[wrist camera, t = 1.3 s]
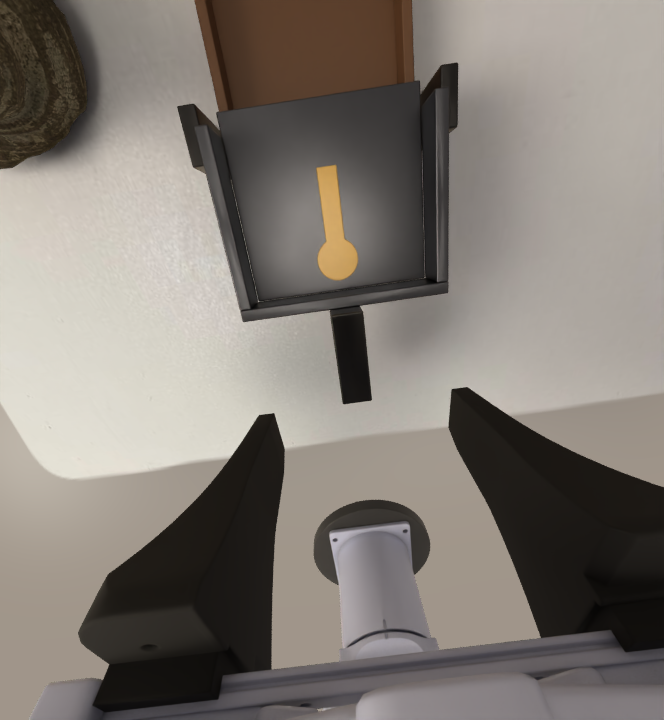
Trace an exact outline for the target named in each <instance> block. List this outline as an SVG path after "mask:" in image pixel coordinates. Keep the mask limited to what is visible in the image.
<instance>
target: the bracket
mask: <svg viewBox="0 0 664 720" xmlns="http://www.w3.org/2000/svg"><path fill="white" fill-rule="evenodd" d="M442 87H449V133H450V132H451V131H452V130H454V129H455V128H456V127H457V124H458V63H451V64H444V65H441V66H440V68H439V69H438V70H437V72H436V73H435V75H434V76H433V78H432V79H431V80H430V82H429V83H428V85H427V86H426V87H425V89H424V90H423V92H422V93H421V95H420V104H421V107H422V105H423V104H424V103H425V101H426V100H427V99H428V98H429V96H430V95H431V94H432V93H433V91H434V90H435V89H436V88H442ZM177 108H178V112H179V116H180V119H181V123H182V127H183V131H184V135H185V139H186V142H187V146H188V150H189V154H190V158H191V161H192V165H193V167H194V168H196V169H197V170H199V171H201V172H203V173H205V174H206V172H205V168H204V164H203V160H202V156H201V152H200V148H199V144H198V140H197V136H196V132H195V128H194V127H195V126H198V125H205V124H207V125H208V126H209V127H210V128H211V129H213V130H214V131H215V132H216V133H217V134H218V135H219V136H220V137H221V139H222V136H221V132H220V130H219V129H218V128H217V127H216V126H215V125H214V124H213V123H212V122H211V121H210V120H209V119H208V118H207V117H206V116H205V115H204V114H203V113H202V112H201V111H200V109H199V108H198V107H197V106H196V105H195V104H189V105H183V106H178V107H177ZM222 144H223V141H222ZM421 146H422V109H421ZM223 148H224V145H223ZM224 152H225V150H224ZM225 157H226V154H225ZM226 161H227V158H226ZM227 166H228V163H227ZM228 170H229V167H228ZM229 175H230V172H229ZM230 179H231V176H230Z"/></svg>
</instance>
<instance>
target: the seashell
mask: <svg viewBox="0 0 664 720" xmlns="http://www.w3.org/2000/svg"><path fill="white" fill-rule="evenodd" d="M86 105H87V88H86V80H85V76H84V69H83V65H82V62H81V59H80V55H79V53H78V50H77V47H76V44H75V41H74V39H73V36H72V33H71V30H70V27H69V25H68V24H67V21H66V18H65V15H64V14H63V13H62V12H61V11H60V10H59V9H58V7H57V6H56V5H55V3H54V2H53V1H52V0H0V169H5V168H13V167H14V166H16V165H18V164H19V163H21V162H22V161H24V160H25V159H27V158H29V157H32V156H36V155H40V154H42V153H44V152H46V151H48V150H50V149H52V148H53V147H54V146H55V145H56V144H57V143H58V142H60V141H61V140H62V139H64V138H65V137H66V136H67V135H68V133H69V132H70V126H71V125H72V124H73V122H74V121H75V120H76V118H77V117H78V116H79V115H80V114H81V113H83V112H84V111H85V109H86Z"/></svg>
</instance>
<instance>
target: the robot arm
mask: <svg viewBox="0 0 664 720" xmlns="http://www.w3.org/2000/svg"><path fill="white" fill-rule="evenodd" d="M449 430H450V432H451V435H452V438H453V440H454V443H455V445H456V447H457V450H458V452H459V454H460V455H461V457H462V459H463V461H464V463H465V465H466V466H467V468H468V470H469V472H470V473H471V475H472V477H473V479H474V481H475V482H476V484H477V486H478V488H479V490H480V491H481V493H482V495H483V496H484V498H485V500H486V502H487V504H488V506H489V508H490V510H491V512H492V515H493V517H494V519H495V521H496V524H497V526H498V528H499V530H500V533H501V535H502V537H503V540H504V542H505V545H506V547H507V549H508V552H509V554H510V556H511V559H512V561H513V564H514V566H515V569H516V572H517V574H518V577H519V579H520V582H521V585H522V587H523V590H524V592H525V595H526V597H527V600H528V603H529V606H530V609H531V611H532V614H533V617H534V620H535V622H536V625H537V628H538V631H539V633H540V636H541V638H537V639H529V640H520V641H512V642H504V643H495V644H486V645H478V646H469V647H461V648H453V649H444V650H439V647H438V644H437V640H436V638H431V635H430V632H429V628H428V624H427V621H426V617H425V613H424V609H423V606H422V602H421V598H420V595H419V591H418V587H417V584H416V580H415V576H414V573H413V569H412V553H411V536H410V525H409V522H407V521H399V522H391V523H383V524H375V525H368V526H360V527H352V528H344V529H336V530H332V531H330V533H329V537H330V542H331V547H332V552H333V557H334V562H335V568H336V573H337V578H338V583H339V591H340V610H341V631H342V649H340V650H339V659H340V661H339V662H333V663H324V664H316V665H307V666H299V667H291V668H282V669H274V670H271V640H272V639H271V638H272V634H271V633H272V632H271V631H272V587H273V562H274V544H275V531H276V523H277V517H278V509H279V504H280V497H281V490H282V483H283V476H284V452H285V449H284V445H283V442H282V439H281V435H280V432H279V428H278V425H277V422H276V418H275V415H274V413H272V414H265V415H259V416H258V417H257V419H256V421H255V422H254V424H253V425H252V427H251V428H250V430H249V432H248V433H247V435H246V436H245V438H244V439H243V441H242V442H241V444H240V445H239V447H238V448H237V449H236V451H235V452H234V454H233V455H232V457H231V458H230V459H229V461H228V462H227V464H226V465H225V466H224V467H223V469H222V470H221V471H220V473H219V474H218V475H217V476H216V478H215V479H214V480H213V481H212V482H211V484H210V485H209V486H208V487H207V488H206V489H205V490H204V491H203V493H202V494H201V495H200V496H199V497H198V498H197V499H196V500H195V501H194V502H193V503H192V504H191V505H190V506H189V507H188V508H187V509H186V510H185V511H184V512H183V513H182V514H181V515H180V516H179V517H178V518H177V519H176V520H175V521H174V522H173V523H172V524H170V525H169V526H168V527H167V528H166V529H165V530H164V531H162V532H161V533H160V534H159V535H158V536H157V537H155V538H154V539H153V540H152V541H151V542H150V543H148V544H147V545H146V546H145V547H143V548H142V549H141V550H140V551H138V552H137V553H136V554H134V555H133V556H132V557H131V558H130V559H128V560H127V561H125V562H124V563H123V564H121V565H120V566H119V567H118V568H116V569H115V570H113V571H112V572H111V573H109V574H108V576H107V577H106V579H105V581H104V583H103V584H102V586H101V588H100V590H99V592H98V594H97V596H96V598H95V600H94V602H93V604H92V606H91V608H90V610H89V611H88V613H87V615H86V618H85V619H84V621H83V623H82V626H81V627H80V630H79V632H78V635H79V638H80V641H81V643H82V644H83V645H84V646H85V647H86V648H87V649H89V650H91V651H92V652H93V653H94V654H96V655H97V656H99V657H100V658H102V659H103V660H104V661H106V662H107V663H108V664H110V665H109V667H108V669H107V672H106V674H105V677H104V679H103V680H101V679H96V678H85V679H76V680H68V681H60V682H51V683H49V684H48V685H47V686H46V687H45V689H44V691H43V692H42V694H41V696H40V698H39V700H38V702H37V704H36V706H35V708H34V710H33V711H32V714H31V715H30V717H29V719H28V720H664V487H661V486H658V485H655V484H651V483H649V482H646V481H643V480H640V479H638V478H635V477H632V476H630V475H627V474H624V473H621V472H619V471H617V470H614V469H612V468H609V467H607V466H604V465H602V464H600V463H597V462H595V461H593V460H590V459H588V458H586V457H584V456H581V455H579V454H577V453H575V452H573V451H571V450H569V449H567V448H565V447H563V446H561V445H559V444H557V443H555V442H553V441H551V440H549V439H547V438H545V437H544V436H542V435H540V434H538V433H536V432H535V431H533V430H531V429H530V428H528V427H526V426H525V425H523V424H521V423H519V422H518V421H516V420H515V419H513V418H512V417H510V416H509V415H507V414H506V413H504V412H503V411H501V410H500V409H498V408H497V407H495V406H494V405H492V404H491V403H489V402H488V401H487V400H485V399H484V398H482V397H481V396H479V395H478V394H476V393H475V392H474V391H472V390H471V389H469V388H468V387H464V388H457V389H452V391H451V403H450V415H449ZM320 708H323V711H320V712H318V710H317V709H320Z"/></svg>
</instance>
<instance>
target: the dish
mask: <svg viewBox="0 0 664 720" xmlns="http://www.w3.org/2000/svg"><path fill="white" fill-rule="evenodd" d="M421 109H422V146H421ZM216 114H217V118H218V123H219V127H220V132H221V136H222V139H221V137H220V136H219V135H218V134H217V133H216V132H215V131H214V130H213V129H211V128H210V127H209V126H208V125H207V124H205V125H198V126H195V127H194V128H195V132H196V136H197V140H198V144H199V148H200V152H201V156H202V160H203V164H204V168H205V172H206V176H207V180H208V184H209V188H210V192H211V196H212V200H213V204H214V208H215V212H216V216H217V220H218V224H219V228H220V232H221V236H222V240H223V244H224V248H225V252H226V256H227V260H228V264H229V268H230V272H231V276H232V280H233V284H234V288H235V292H236V296H237V300H238V304H239V308H240V310H241V316H242V320H243V322H248V321H255V320H262V319H269V318H276V317H283V316H290V315H297V314H304V313H311V312H318V311H325V310H330V316H331V324H332V331H333V338H334V345H335V352H336V359H337V366H338V373H339V380H340V387H341V394H342V401H343V404H349V403H356V402H364V401H371V400H372V396H371V386H370V376H369V366H368V356H367V346H366V336H365V326H364V316H363V311H362V309H361V307H360V306H361V305H368V304H375V303H382V302H389V301H396V300H403V299H410V298H417V297H424V296H431V295H438V294H445V293H448V223H449V87H442V88H436V89H435V90H434V91H433V93H432V94H431V95H430V96H429V98H428V99H427V100H426V101H425V103H424V104H423V105H422V107H421V104H420V81H412V82H406V83H400V84H393V85H387V86H380V87H374V88H368V89H361V90H355V91H349V92H342V93H336V94H329V95H323V96H317V97H310V98H304V99H298V100H291V101H285V102H278V103H272V104H266V105H259V106H253V107H247V108H240V109H234V110H227V111H221V112H217V113H216ZM222 141H223V144H222ZM223 145H224V148H223ZM224 150H225V152H224ZM422 153H423V188H422ZM225 154H226V157H225ZM226 158H227V161H226ZM227 163H228V166H227ZM331 165H336V166H337V174H338V183H339V192H340V201H341V210H342V219H343V228H344V237H345V239H346V240H348V241H349V242H351V243H352V244H353V246H354V247H355V249H356V251H357V254H358V264H357V267H356V269H355V271H354V272H353V274H352V275H351V276H349V277H348V278H346V279H343V280H332V279H329V278H327V277H326V276H325V275H324V274H323V273H322V272H321V271H320V269H319V266H318V260H317V259H318V253H319V250H320V248H321V246H322V245H323V244H324V243H325V242H326V238H325V231H324V223H323V216H322V208H321V201H320V193H319V186H318V178H317V171H316V168H317V167H324V166H331ZM228 167H229V170H228ZM229 172H230V175H229ZM230 176H231V179H230ZM231 181H232V183H231ZM232 185H233V188H232ZM233 189H234V192H233ZM234 194H235V197H234ZM423 196H424V230H423ZM235 198H236V201H235ZM236 203H237V206H236ZM237 207H238V210H237ZM238 212H239V214H238ZM239 216H240V219H239ZM240 221H241V223H240ZM241 225H242V228H241ZM242 229H243V232H242ZM243 234H244V236H243ZM244 238H245V241H244ZM424 239H425V271H424ZM245 243H246V245H245ZM246 247H247V250H246ZM247 252H248V254H247ZM248 256H249V259H248ZM249 260H250V263H249ZM250 265H251V267H250ZM251 269H252V272H251ZM252 274H253V276H252ZM424 277H426V278H424ZM253 278H254V281H253ZM421 278H423V279H421ZM414 279H416V280H414ZM407 280H409V281H407ZM400 281H402V282H400ZM393 282H395V283H393ZM254 283H255V285H254ZM386 283H388V284H386ZM379 284H381V285H379ZM372 285H374V286H372ZM365 286H367V287H365ZM255 287H256V290H255ZM358 287H360V288H358ZM351 288H353V289H351ZM344 289H346V290H344ZM337 290H339V291H337ZM256 291H257V294H256ZM330 291H332V292H330ZM323 292H325V293H323ZM316 293H318V294H316ZM309 294H311V295H309ZM302 295H304V296H302ZM257 296H258V298H257ZM295 296H297V297H295ZM288 297H290V298H288ZM281 298H283V299H281ZM274 299H276V300H274ZM258 300H259V301H262V302H258ZM267 300H269V301H267Z"/></svg>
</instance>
